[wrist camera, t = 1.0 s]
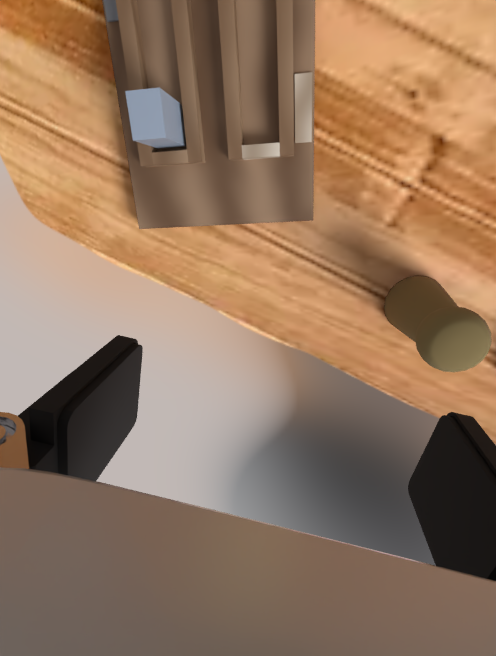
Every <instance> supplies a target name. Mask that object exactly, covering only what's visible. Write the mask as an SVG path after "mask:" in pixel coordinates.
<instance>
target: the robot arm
mask: <svg viewBox="0 0 496 656" xmlns="http://www.w3.org/2000/svg"><path fill="white" fill-rule="evenodd" d="M141 362H142V346H141V345H138V342H137V340H136V339H133V338H128V337H124V336H120V335H118V336H116V337H115V338H114V339H113V340H111V341H110V342H109V343H108V344H106V345H105V346H104V347H103V348H101V349H100V350H99V351H98V352H96V353H95V354H94V355H93V356H92V357H90V358H89V359H88V360H87V361H85V362H84V363H83V364H82V365H80V366H79V367H78V368H77V369H76V370H74V371H73V372H72V373H70V374H69V375H68V376H66V377H65V378H64V379H63V380H62V381H60V382H59V383H58V384H57V385H55V386H54V387H53V388H52V389H50V390H49V391H48V392H47V393H45V394H44V395H43V396H42V397H41V398H39V399H38V400H37V401H36V402H34V403H33V404H32V405H31V406H29V407H28V408H27V409H26V410H25V411H23V412H22V413H21V414H20V415H18V416H16V415H13V414H10V413H5V412H0V656H496V445H495V444H494V443H493V442H492V440H491V439H490V438H489V437H488V435H487V434H486V433H485V431H484V430H483V429H482V428H481V426H480V425H479V424H478V423H477V421H476V420H475V419H474V418H473V417H471V416H467V415H462V414H458V413H454V412H450V413H448V414H447V415H443V416H442V417H441V418H440V419H439V421H438V423H437V425H436V428H435V430H434V432H433V434H432V436H431V438H430V440H429V442H428V444H427V446H426V448H425V451H424V453H423V454H422V456H421V458H420V460H419V462H418V465H417V467H416V469H415V471H414V473H413V475H412V477H411V479H410V481H409V485H408V491H409V495H410V498H411V500H412V503H413V506H414V509H415V511H416V514H417V517H418V519H419V522H420V524H421V527H422V530H423V532H424V535H425V538H426V541H427V543H428V546H429V549H430V551H431V554H432V556H433V559H434V562H435V564H436V566H435V565H431V564H427V563H423V562H419V561H415V560H411V559H407V558H403V557H399V556H395V555H391V554H387V553H383V552H380V551H376V550H371V549H368V548H364V547H360V546H356V545H352V544H348V543H344V542H340V541H336V540H332V539H328V538H324V537H320V536H316V535H312V534H308V533H304V532H300V531H296V530H292V529H288V528H284V527H280V526H276V525H272V524H268V523H264V522H260V521H256V520H252V519H248V518H244V517H240V516H236V515H232V514H228V513H224V512H219V511H216V510H211V509H207V508H203V507H200V506H195V505H191V504H187V503H183V502H179V501H175V500H171V499H167V498H162V497H159V496H155V495H150V494H146V493H142V492H138V491H134V490H129V489H125V488H122V487H118V486H113V485H110V484H106V483H101V482H96V480H97V479H98V477H99V476H100V475H101V473H102V471H103V470H104V469H105V467H106V466H107V464H108V463H109V461H110V460H111V458H112V457H113V455H114V454H115V452H116V451H117V450H118V448H119V447H120V445H121V444H122V442H123V441H124V439H125V438H126V437H127V435H128V434H129V432H130V431H131V429H132V427H133V426H134V424H135V422H136V418H137V410H138V398H139V386H140V373H141Z"/></svg>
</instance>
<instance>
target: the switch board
mask: <svg viewBox="0 0 496 656" xmlns="http://www.w3.org/2000/svg"><path fill="white" fill-rule="evenodd" d="M102 1H103V8H104V14H105V20H106V26H107V32H108V39H109V45H110V51H111V57H112V63H113V69H114V76H115V82H116V88H117V94H118V100H119V107H120V113H121V119H122V125H123V131H124V138H125V144H126V150H127V156H128V162H129V168H130V175H131V181H132V187H133V193H134V199H135V206H136V212H137V218H138V224H139V229H149V228H169V227H189V226H209V225H229V224H250V223H270V222H290V221H310V220H313V184H314V69H315V0H102ZM159 87H160V88H161V89H162V90H164V91H165V92H166V93H167V94H169V95H170V96H171V97H173V98H174V99H175V100H177V101H178V102H179V103H180V104H182V108H183V117H184V127H185V136H186V147H173V148H161V149H158V148H155V147H152V146H149V145H145V144H142V143H139V142H136V141H133V138H132V131H131V125H130V119H129V112H128V106H127V99H126V93H125V91H131V90H140V89H150V88H159Z"/></svg>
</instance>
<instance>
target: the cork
mask: <svg viewBox="0 0 496 656" xmlns="http://www.w3.org/2000/svg"><path fill="white" fill-rule="evenodd" d="M384 309H385V315H386V317H387V319H388V321H389V322H390V323H391V324H392V325H393V326H394V327H396V328H397V329H398V330H400V331H401V332H402V333H404V334H405V335H406V336H408V337H409V338H411V339H412V340H413V341H415V342H416V346H417V350H418V352H419V354H420V355H421V357H422V358H423V360H424V361H426V362H427V363H428V364H429V365H430V366H432V367H434V368H436V369H439V370H441V371H446V372H459V371H465V370H468V369H470V368H472V367H475V366H476V365H477V364H479V363H480V362H481V361H482V360H483V359H484V358H485V356H486V355H487V354H488V351H489V348H490V345H491V332H490V330H489V327H488V325H487V323H486V322H485V320H484V319H482V318H481V317H480V316H479V315H478V314H477V313H475V312H473V311H471V310H468V309H466V308H461V307H458V306H457V304H456V303H455V302H454V301H453V299H452V298H451V297H450V296H449V295H448V293H447V292H446V291H445V290H444V288H443V287H442V286H441V285H440V284H439V283H438V282H437V281H436V280H434V279H431V278H429V277H426V276H413V277H409V278H406V279H404V280H402V281H400V282H398V283H397V284H396V285H395V286H394V287H393V288H392V289H391V290H390V291H389V293H388V295H387V297H386V300H385V305H384Z"/></svg>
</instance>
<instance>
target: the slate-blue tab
mask: <svg viewBox="0 0 496 656" xmlns="http://www.w3.org/2000/svg"><path fill="white" fill-rule="evenodd" d="M125 93H126V99H127V106H128V112H129V119H130V125H131V131H132V138H133V141H136V142H139V143H142V144H145V145H149V146H152V147H155V148H158V149H161V148H173V147H186V136H185V127H184V117H183V108H182V104H180V103H179V102H178V101H177V100H175V99H174V98H173V97H171V96H170V95H169V94H167V93H166V92H165V91H164V90H162V89H161V88H160V87H159V88H150V89H140V90H131V91H125Z"/></svg>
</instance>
